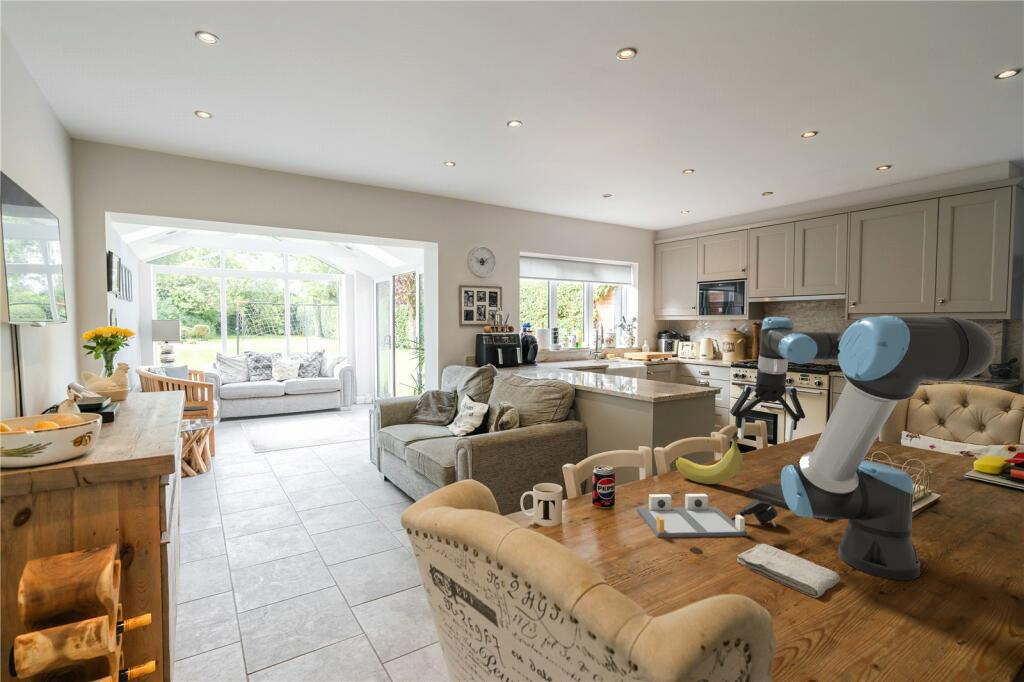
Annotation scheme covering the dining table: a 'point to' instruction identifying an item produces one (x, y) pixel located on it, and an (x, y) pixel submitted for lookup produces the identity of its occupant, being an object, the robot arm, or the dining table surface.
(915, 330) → the robot arm
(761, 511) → the power plug
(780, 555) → the washcloth
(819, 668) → the dining table surface
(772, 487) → the hardcover book
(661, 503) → the board
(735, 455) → the banana
